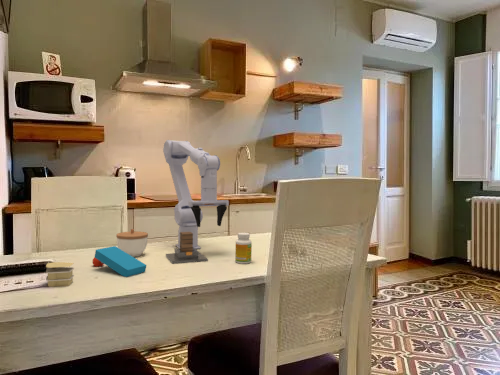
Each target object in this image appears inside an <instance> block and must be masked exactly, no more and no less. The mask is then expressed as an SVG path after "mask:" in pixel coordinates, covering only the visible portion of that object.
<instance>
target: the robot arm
mask: <svg viewBox="0 0 500 375" xmlns="http://www.w3.org/2000/svg"><path fill="white" fill-rule="evenodd" d="M162 148H163V149H162V150H163V151H162V152H163V156H164V159H165V163H166V164H168V166H169V171H170V174H171V178H172V181H173V182H172V183H173V185H174V189H175V193H176V197H177V200H178V203H177V204H175V207H174V208H173V210H174V211H173V212H174V220H175V224H177V226H178V227H179V228H178V229H177V232H178V233H177V237H178V238H177V241H178V242H177V243H176V244H175V246H176V247H177V248H180V232H192V233H193V247H194V248H195V249H196V250H198V249H199V250H200V249H201V248H202V247H201V246H199V239H198V238H199V236H198V235H199V228H200V227H201V223H202V221H203V218H204V217H203V211H202V208H201V207H216V215H217V217H216V222H217V223H216V224H217V226H218V227H221V226H222V221H223V217H224V215H225V213H226V211H227V210H228V209H227V208H228V207H229V206H230V205H229V204H230V201H229V200H227V199H226V200H225V199H224V200H222V199H221V200H220V199H218V194H217V193H218V171H219V169H220V167H221V161H220V160H221V159H220V157H219V156H218V155H215V154H214V155H211V154H210V152H209V151H208V152H207V151H205V150H204V148H203V147H197V148H195V147H194V146H193V145H192V144H191V142H190V141H188V140H172V139H166V140H165V141H164V143H163V147H162ZM189 158H190V161H191V162H193V163H194V164H195V165H197V168H198V170H199V176H200V200H193V199H192V197H191V192H190V189H189V185H188V183H187V182H188V181H187V178H186V175H185V170H184V167H183V165H185V164H186V163H187V161H188V159H189Z"/></svg>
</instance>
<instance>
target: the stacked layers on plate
mask: <svg viewBox="0 0 500 375" xmlns="http://www.w3.org/2000/svg"><path fill="white" fill-rule="evenodd" d="M72 265H74V262H62V261H56V262H48V263H46V265H45V268H46V270H45V274H47V275H46V278H45V281H47V287H50V288H53V287H54V288H55V287H66V286H67V287H68V286H70V285H71V284H72V283H73V280H74V279H73V278H74V277H75V274H74V273H73V270H74V269H75V267H72Z"/></svg>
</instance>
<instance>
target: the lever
mask: <svg viewBox="0 0 500 375" xmlns="http://www.w3.org/2000/svg"><path fill="white" fill-rule="evenodd" d="M92 265H93V266H94V267H96V268H98V267H102V266H103V265H105V266H106V267H109V268H110V269H112V270H113V271H115V273H118V274H119V275H121V277H125V278H128V277H132V276H136V275H138V274H141V273H142V272H143V273H146V269H147V264H145V263H143V262H142V261H140V260H139V259H137V257H132V256H131V255H129V254H127V253H126V252H124V251H122V250H121V249H119V248H118V246H117V245H114V246H108V247H103V248H98V249H95V251H94V257H93V258H92Z"/></svg>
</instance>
